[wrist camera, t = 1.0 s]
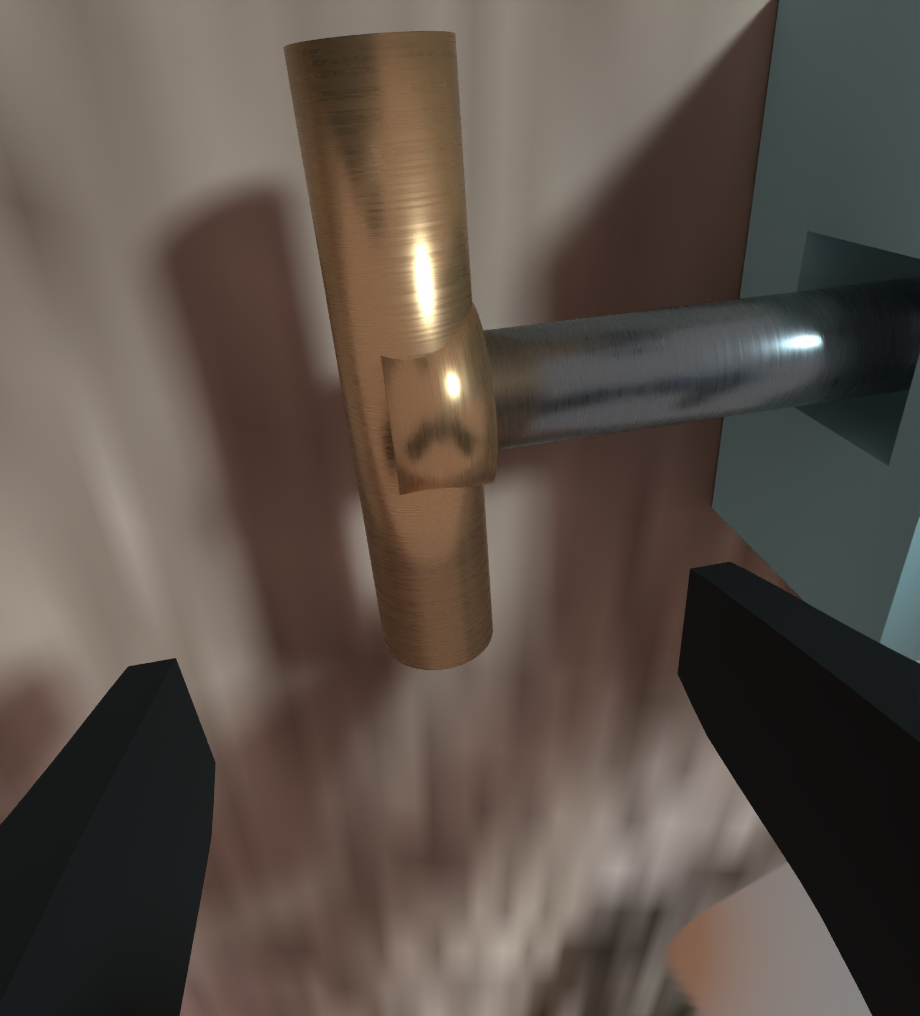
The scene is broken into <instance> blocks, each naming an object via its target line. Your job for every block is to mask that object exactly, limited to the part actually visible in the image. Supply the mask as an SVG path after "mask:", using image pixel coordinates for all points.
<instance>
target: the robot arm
mask: <svg viewBox="0 0 920 1016" xmlns="http://www.w3.org/2000/svg"><path fill="white" fill-rule="evenodd" d="M678 676H679V678H680V680H681V682H682V684H683V686H684V689H685V691H686V693H687V695H688V697H689V700H690V702H691V704H692V706H693V708H694V710H695V712H696V714H697V716H698V718H699V720H700V722H701V724H702V726H703V728H704V730H705V733H706V735H707V736H708V738H709V740H710V741H711V743H712V744H713V746H714V748H715V749H716V751H717V753H718V754H719V756H720V757H721V759H722V760H723V762H724V764H725V765H726V767H727V768H728V770H729V771H730V773H731V775H732V776H733V778H734V779H735V781H736V783H737V784H738V786H739V787H740V789H741V790H742V792H743V793H744V795H745V796H746V798H747V800H748V801H749V803H750V804H751V806H752V807H753V809H754V810H755V812H756V813H757V815H758V817H759V818H760V820H761V821H762V823H763V824H764V826H765V827H766V829H767V831H768V832H769V834H770V835H771V837H772V838H773V840H774V841H775V843H776V844H777V846H778V848H779V849H780V851H781V852H782V854H783V855H784V857H785V858H786V860H787V861H788V863H789V864H790V866H791V868H792V869H793V871H794V872H795V874H796V875H797V877H798V879H799V880H800V882H801V883H802V885H803V887H804V889H805V890H806V892H807V894H808V895H809V897H810V898H811V900H812V902H813V904H814V905H815V907H816V909H817V910H818V912H819V914H820V916H821V918H822V919H823V921H824V923H825V925H826V927H827V929H828V931H829V932H830V935H831V937H832V938H833V940H834V942H835V944H836V946H837V948H838V950H839V952H840V954H841V956H842V958H843V959H844V961H845V963H846V965H847V967H848V969H849V971H850V973H851V975H852V977H853V978H854V980H855V982H856V984H857V986H858V988H859V990H860V991H861V994H862V996H863V998H864V1000H865V1002H866V1004H867V1006H868V1008H869V1010H870V1012H871V1014H872V1016H920V664H919V663H917V662H915V661H914V660H912V659H910V658H908V657H906V656H904V655H902V654H900V653H898V652H896V651H894V650H892V649H890V648H888V647H886V646H884V645H883V644H881V643H879V642H877V641H875V640H873V639H871V638H869V637H868V636H866V635H864V634H862V633H860V632H858V631H856V630H855V629H853V628H851V627H849V626H847V625H845V624H844V623H842V622H840V621H838V620H836V619H834V618H833V617H831V616H829V615H827V614H825V613H824V612H822V611H820V610H818V609H816V608H815V607H813V606H811V605H809V604H807V603H806V602H804V601H802V600H800V599H798V598H797V597H795V596H793V595H791V594H790V593H788V592H786V591H784V590H782V589H781V588H779V587H777V586H775V585H773V584H771V583H770V582H768V581H766V580H764V579H762V578H760V577H759V576H757V575H755V574H753V573H751V572H749V571H747V570H745V569H743V568H741V567H739V566H737V565H735V564H733V563H731V562H726V563H720V564H715V565H709V566H703V567H697V568H692V569H690V575H689V583H688V591H687V600H686V608H685V616H684V625H683V633H682V642H681V650H680V658H679V667H678ZM214 783H215V760H214V758H213V755H212V752H211V750H210V747H209V744H208V742H207V739H206V736H205V734H204V731H203V729H202V726H201V723H200V721H199V718H198V715H197V713H196V710H195V707H194V705H193V702H192V699H191V697H190V694H189V692H188V689H187V686H186V684H185V681H184V678H183V676H182V673H181V670H180V668H179V665H178V663H177V660H176V658H174V659H168V660H163V661H157V662H151V663H145V664H140V665H134V666H128V667H127V669H126V670H125V671H124V672H123V673H122V675H121V676H120V677H119V678H118V680H117V681H116V682H115V683H114V685H113V686H112V687H111V688H110V690H109V691H108V692H107V693H106V695H105V696H104V697H103V698H102V700H101V701H100V702H99V703H98V705H97V706H96V707H95V709H94V710H93V711H92V712H91V714H90V715H89V716H88V717H87V719H86V720H85V721H84V723H83V724H82V725H81V726H80V728H79V729H78V730H77V731H76V733H75V734H74V735H73V737H72V738H71V739H70V740H69V742H68V743H67V744H66V745H65V747H64V748H63V749H62V750H61V752H60V753H59V754H58V756H57V757H56V758H55V759H54V761H53V762H52V763H51V764H50V765H49V767H48V768H47V769H46V770H45V772H44V773H43V774H42V775H41V777H40V778H39V779H38V780H37V781H36V783H35V784H34V785H33V786H32V788H31V789H30V790H29V791H28V792H27V794H26V795H25V796H24V797H23V799H22V800H21V801H20V802H19V803H18V805H17V806H16V807H15V808H14V810H13V811H12V812H11V813H10V814H9V816H8V817H7V818H6V819H5V820H4V821H3V822H2V824H1V825H0V1016H179V1015H180V1010H181V1004H182V999H183V993H184V988H185V982H186V977H187V971H188V966H189V960H190V955H191V949H192V944H193V938H194V933H195V927H196V922H197V916H198V911H199V905H200V900H201V894H202V888H203V883H204V877H205V871H206V866H207V860H208V854H209V848H210V842H211V834H212V819H213V805H214Z"/></svg>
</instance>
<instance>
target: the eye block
mask: <svg viewBox="0 0 920 1016" xmlns="http://www.w3.org/2000/svg"><path fill="white" fill-rule="evenodd" d="M918 276H920V0H779V5H778V13H777V20H776V28H775V35H774V43H773V50H772V58H771V66H770V73H769V81H768V88H767V96H766V103H765V111H764V118H763V126H762V133H761V141H760V148H759V156H758V163H757V171H756V178H755V186H754V193H753V201H752V209H751V216H750V224H749V231H748V239H747V246H746V254H745V261H744V269H743V276H742V284H741V291H740V299H741V298H749V297H757V296H765V295H773V294H781V293H789V292H797V291H805V290H813V289H821V288H829V287H837V286H846V285H854V284H862V283H870V282H878V281H886V280H894V279H902V278H910V277H918ZM712 508H713V509H714V510H715V511H716V512H717V513H718V514H719V515H720V516H721V517H722V518H723V519H724V520H725V521H726V522H727V523H728V524H729V525H730V526H731V527H732V529H733V530H734V531H735V532H736V533H737V534H738V535H739V536H740V537H741V538H742V539H743V540H744V541H745V542H746V543H747V544H748V545H749V546H750V547H751V548H752V549H753V550H754V551H755V552H756V553H757V554H758V555H759V556H760V557H761V558H762V559H763V560H764V561H765V562H766V563H767V564H768V565H769V566H770V567H771V568H772V569H773V570H774V571H775V572H776V573H777V574H778V575H779V576H780V577H781V578H782V579H783V580H784V581H785V582H786V583H787V584H788V585H789V586H790V587H791V588H792V589H793V590H794V591H795V592H796V593H797V594H798V595H799V596H800V597H801V598H802V599H803V600H804V602H806V603H807V604H809V605H811V606H813V607H815V608H816V609H818V610H820V611H822V612H824V613H825V614H827V615H829V616H831V617H833V618H834V619H836V620H838V621H840V622H842V623H844V624H845V625H847V626H849V627H851V628H853V629H855V630H856V631H858V632H860V633H862V634H864V635H866V636H868V637H869V638H871V639H873V640H875V641H877V642H879V643H881V644H883V645H884V646H886V647H888V648H890V649H892V650H894V651H896V652H898V653H900V654H902V655H904V656H906V657H908V658H910V659H912V660H914V661H917V660H920V354H919V358H918V361H917V365H916V369H915V372H914V376H913V380H912V383H911V387H910V390H908V391H901V392H894V393H887V394H880V395H873V396H866V397H859V398H852V399H845V400H839V401H832V402H825V403H818V404H811V405H804V406H797V407H790V408H783V409H776V410H770V411H763V412H756V413H749V414H742V415H735V416H728V417H724V419H723V427H722V434H721V442H720V449H719V457H718V464H717V472H716V480H715V487H714V495H713V502H712Z"/></svg>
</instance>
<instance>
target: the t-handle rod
mask: <svg viewBox="0 0 920 1016" xmlns="http://www.w3.org/2000/svg"><path fill="white" fill-rule="evenodd" d="M284 54H285V60H286V65H287V71H288V77H289V83H290V89H291V95H292V101H293V107H294V113H295V118H296V124H297V130H298V136H299V142H300V148H301V154H302V160H303V166H304V171H305V177H306V183H307V189H308V195H309V201H310V207H311V213H312V219H313V224H314V230H315V236H316V242H317V248H318V254H319V260H320V266H321V271H322V277H323V283H324V289H325V295H326V301H327V307H328V313H329V319H330V324H331V330H332V336H333V342H334V348H335V354H336V360H337V366H338V372H339V377H340V383H341V389H342V395H343V401H344V407H345V413H346V419H347V425H348V430H349V436H350V442H351V448H352V454H353V460H354V466H355V472H356V477H357V483H358V489H359V495H360V501H361V507H362V513H363V519H364V525H365V530H366V536H367V542H368V548H369V554H370V560H371V566H372V572H373V578H374V583H375V589H376V595H377V601H378V607H379V613H380V619H381V625H382V630H383V636H384V642H385V646H386V648H387V650H388V651H389V653H390V654H391V655H392V656H393V657H394V658H395V659H396V660H398V661H399V662H401V663H403V664H405V665H407V666H410V667H413V668H417V669H423V670H442V669H448V668H453V667H456V666H459V665H462V664H464V663H467V662H469V661H470V660H472V659H474V658H475V657H477V656H478V655H479V654H480V653H481V652H483V651H484V649H485V648H486V647H487V646H488V644H489V642H490V640H491V637H492V633H493V624H492V608H491V592H490V576H489V560H488V544H487V528H486V513H485V497H484V485H488V484H492V483H493V481H494V479H495V476H496V470H497V459H498V450H501V449H507V448H514V447H521V446H528V445H535V444H542V443H549V442H556V441H563V440H569V439H576V438H583V437H590V436H597V435H604V434H611V433H618V432H625V431H632V430H638V429H645V428H652V427H659V426H666V425H673V424H680V423H687V422H694V421H701V420H707V419H714V418H721V417H728V416H735V415H742V414H749V413H756V412H763V411H770V410H776V409H783V408H790V407H797V406H804V405H811V404H818V403H825V402H832V401H839V400H845V399H852V398H859V397H866V396H873V395H880V394H887V393H894V392H901V391H908V390H910V387H911V383H912V380H913V376H914V372H915V369H916V365H917V361H918V358H919V354H920V276H918V277H910V278H902V279H894V280H886V281H878V282H870V283H862V284H854V285H846V286H837V287H829V288H821V289H813V290H805V291H797V292H789V293H781V294H773V295H765V296H757V297H749V298H741V299H733V300H725V301H717V302H709V303H701V304H693V305H685V306H677V307H669V308H661V309H653V310H645V311H637V312H629V313H621V314H613V315H605V316H597V317H589V318H580V319H572V320H564V321H556V322H548V323H540V324H532V325H524V326H516V327H508V328H500V329H492V330H484V331H483V329H482V325H481V322H480V319H479V316H478V313H477V310H476V308H475V306H474V304H473V302H472V291H471V275H470V259H469V243H468V227H467V211H466V196H465V180H464V164H463V148H462V132H461V116H460V100H459V85H458V69H457V53H456V37H455V33H453V32H445V31H410V32H390V33H375V34H362V35H351V36H342V37H333V38H325V39H317V40H310V41H304V42H299V43H294V44H290V45H287V46H285V47H284Z"/></svg>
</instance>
